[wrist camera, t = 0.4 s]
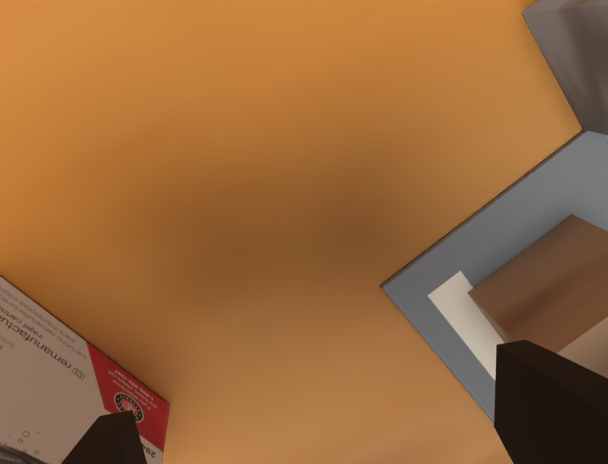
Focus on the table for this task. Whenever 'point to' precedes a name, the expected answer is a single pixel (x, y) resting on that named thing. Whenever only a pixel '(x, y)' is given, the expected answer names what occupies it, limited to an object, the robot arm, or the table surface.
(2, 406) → the ink box
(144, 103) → the table surface
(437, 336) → the letter card
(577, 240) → the walnut block
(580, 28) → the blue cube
